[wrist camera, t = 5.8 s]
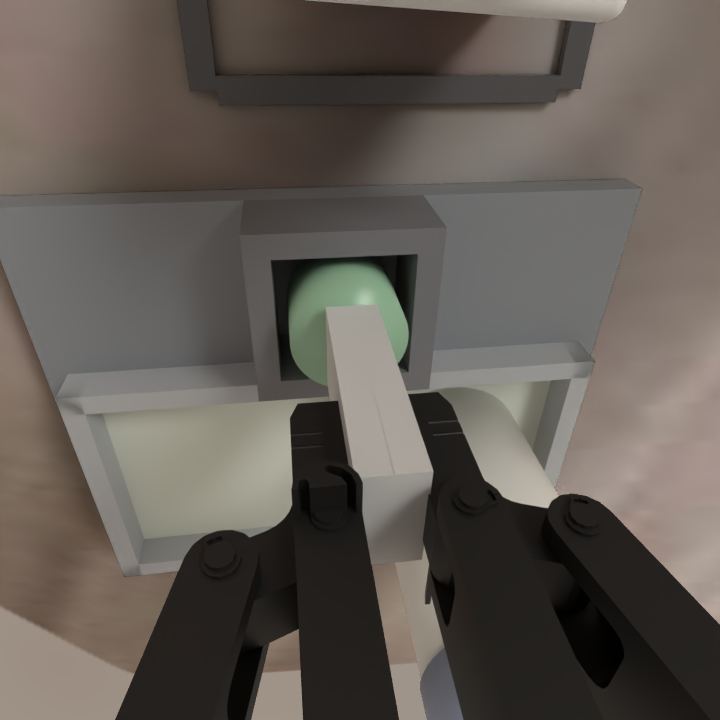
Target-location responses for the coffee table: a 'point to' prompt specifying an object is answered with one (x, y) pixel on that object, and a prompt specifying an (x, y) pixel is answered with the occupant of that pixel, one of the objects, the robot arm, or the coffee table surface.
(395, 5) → the medicine bottle
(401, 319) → the button
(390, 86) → the frame
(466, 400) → the cream and blue canister
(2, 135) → the coffee table surface
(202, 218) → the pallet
